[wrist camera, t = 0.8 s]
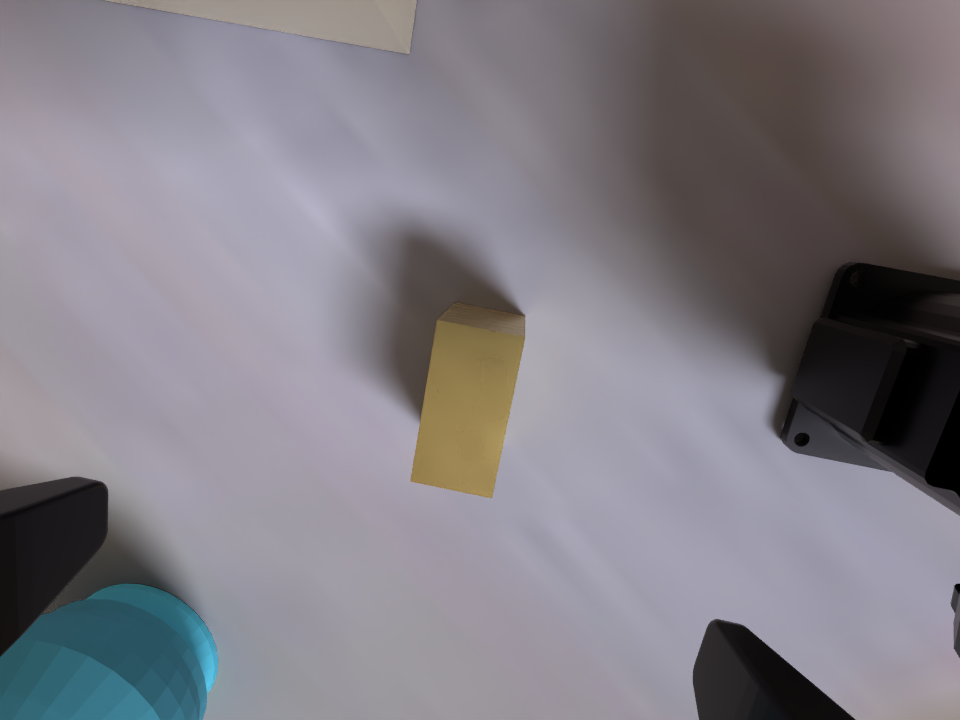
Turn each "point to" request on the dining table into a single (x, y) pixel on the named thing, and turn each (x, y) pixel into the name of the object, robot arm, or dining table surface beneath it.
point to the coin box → (309, 18)
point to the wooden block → (468, 398)
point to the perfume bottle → (111, 660)
